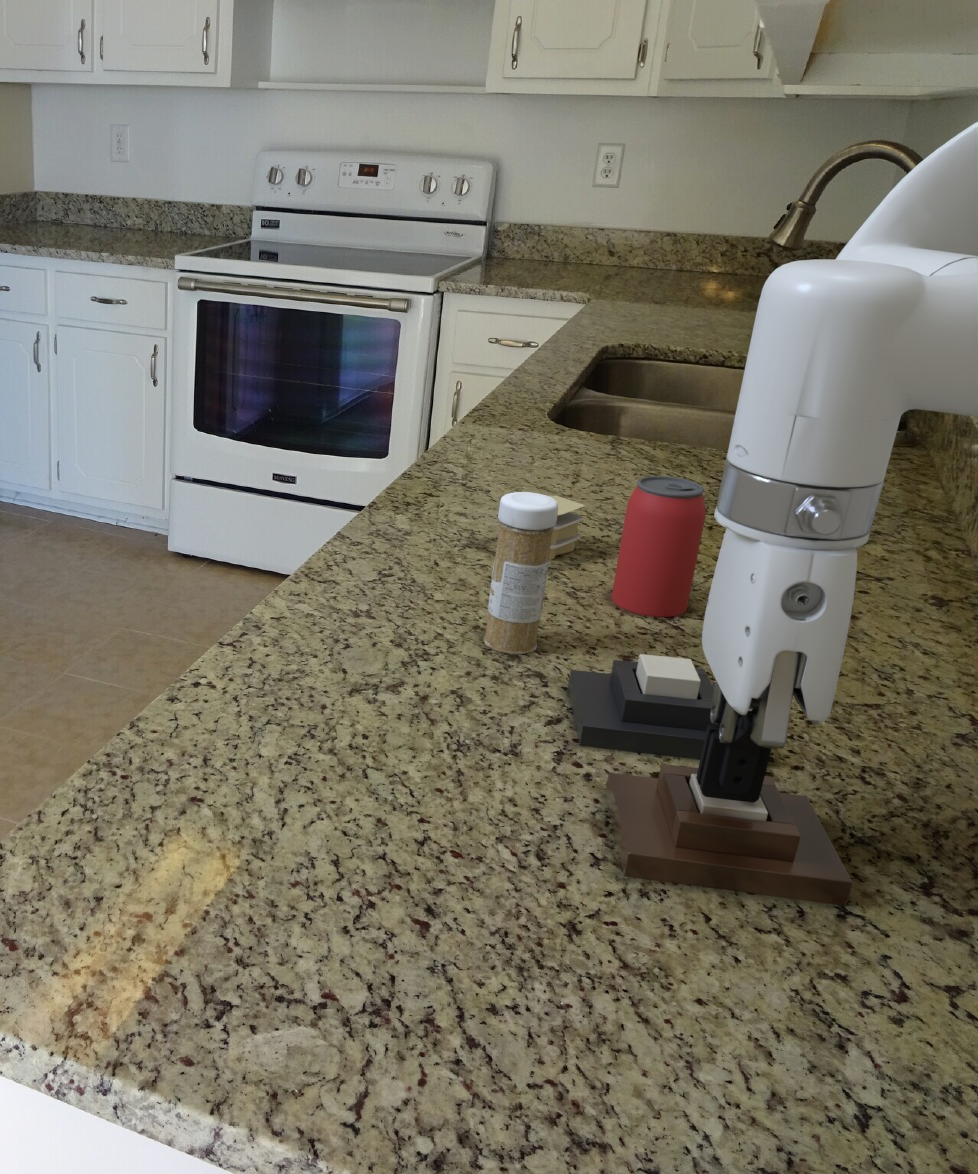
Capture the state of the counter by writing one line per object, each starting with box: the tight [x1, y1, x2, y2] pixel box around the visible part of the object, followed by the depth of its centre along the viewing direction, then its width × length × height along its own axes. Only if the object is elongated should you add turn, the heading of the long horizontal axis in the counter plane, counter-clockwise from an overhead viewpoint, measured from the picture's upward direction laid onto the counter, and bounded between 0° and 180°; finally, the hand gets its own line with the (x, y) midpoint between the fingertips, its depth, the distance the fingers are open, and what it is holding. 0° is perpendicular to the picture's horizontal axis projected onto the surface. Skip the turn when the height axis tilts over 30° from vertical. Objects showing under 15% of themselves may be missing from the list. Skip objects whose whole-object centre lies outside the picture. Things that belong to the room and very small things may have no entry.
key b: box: [636, 653, 701, 699], centre depth 80 cm, size 4×4×2 cm
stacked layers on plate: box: [548, 495, 586, 561], centre depth 115 cm, size 10×9×6 cm
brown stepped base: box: [604, 763, 853, 907], centre depth 68 cm, size 12×9×4 cm
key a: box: [689, 774, 768, 821], centre depth 67 cm, size 4×4×2 cm
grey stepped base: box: [567, 659, 719, 760], centre depth 81 cm, size 12×9×4 cm
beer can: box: [611, 475, 707, 618], centre depth 101 cm, size 7×7×12 cm
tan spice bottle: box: [483, 491, 558, 655], centre depth 92 cm, size 5×5×13 cm
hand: (726, 792), depth 67 cm, fingers closed
